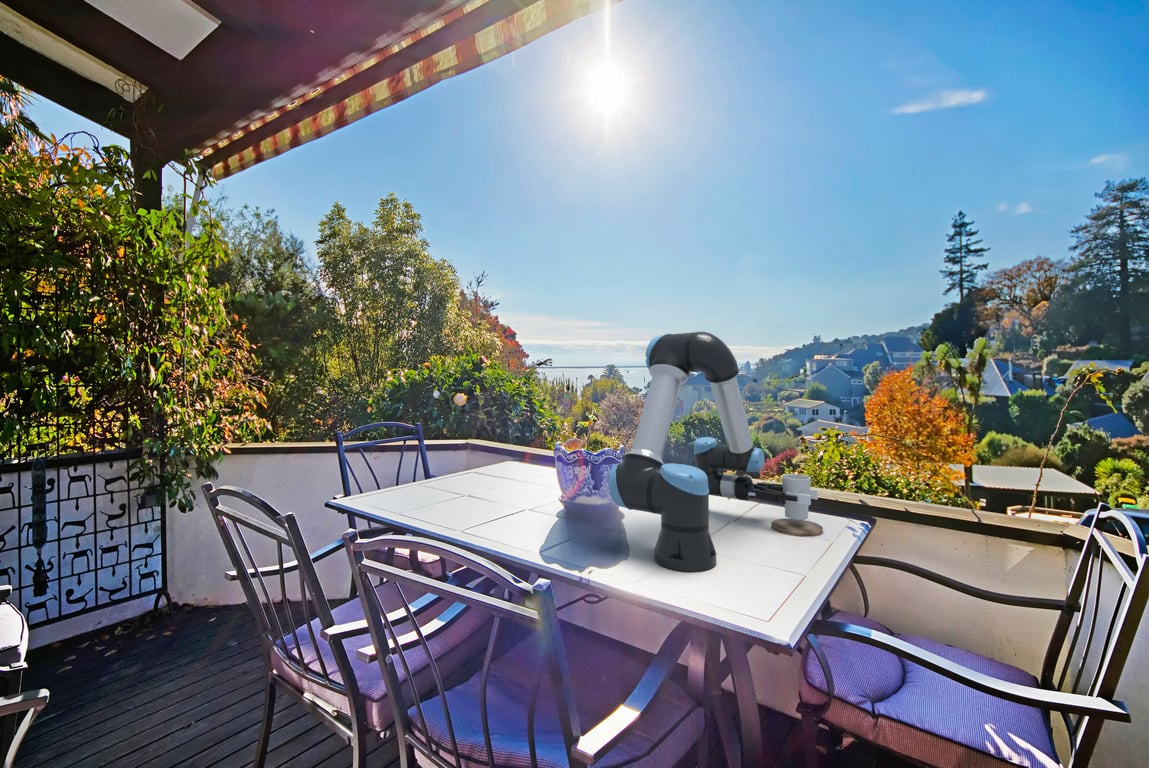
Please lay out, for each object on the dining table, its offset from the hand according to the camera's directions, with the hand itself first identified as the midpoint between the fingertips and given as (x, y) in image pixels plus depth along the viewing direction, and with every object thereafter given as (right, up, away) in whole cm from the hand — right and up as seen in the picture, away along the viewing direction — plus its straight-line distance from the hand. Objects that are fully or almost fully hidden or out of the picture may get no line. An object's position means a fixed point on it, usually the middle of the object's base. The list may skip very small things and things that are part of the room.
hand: (813, 497), depth 143 cm
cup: (-4, -7, +3) cm, 8 cm away
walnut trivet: (-4, -10, +3) cm, 11 cm away
